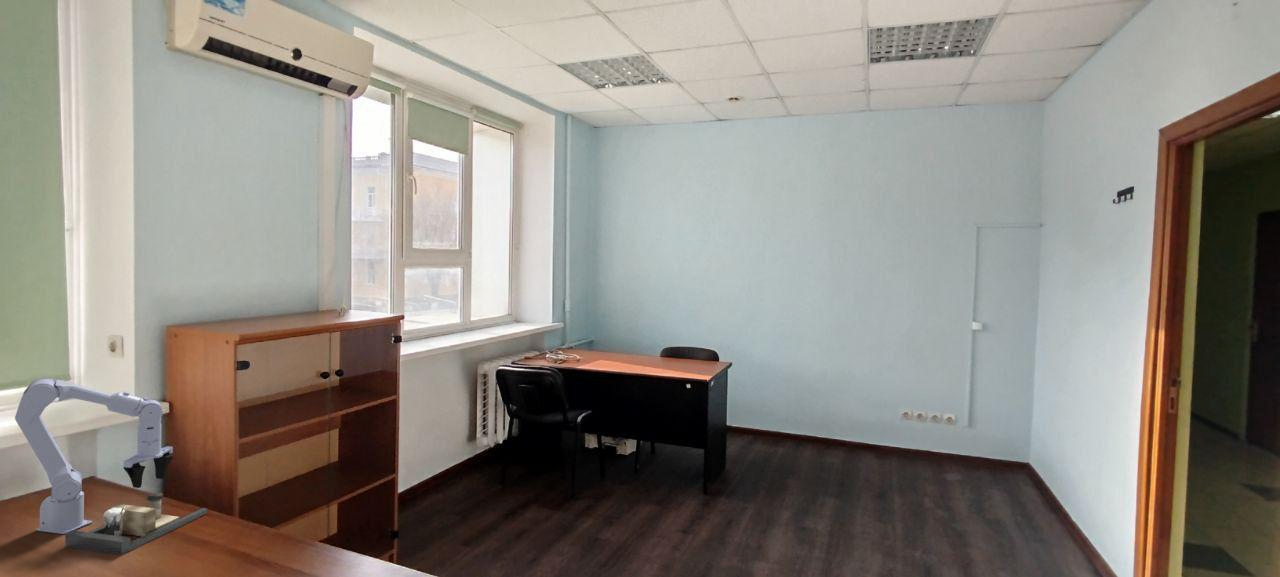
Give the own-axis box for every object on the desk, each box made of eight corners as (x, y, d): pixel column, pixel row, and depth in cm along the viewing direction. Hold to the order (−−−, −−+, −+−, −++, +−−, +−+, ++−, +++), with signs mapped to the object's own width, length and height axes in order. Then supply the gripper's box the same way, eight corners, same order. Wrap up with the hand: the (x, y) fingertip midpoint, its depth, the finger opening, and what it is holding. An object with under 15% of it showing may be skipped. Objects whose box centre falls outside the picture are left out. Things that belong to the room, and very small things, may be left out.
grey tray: (65, 547, 167) (65, 534, 166) (157, 506, 194) (157, 495, 194) (121, 554, 164) (121, 541, 164) (207, 513, 192) (207, 502, 191)
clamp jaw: (108, 531, 176) (109, 504, 175) (144, 516, 187) (145, 489, 186) (145, 536, 174) (146, 508, 174) (179, 520, 185) (180, 494, 185)
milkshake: (114, 546, 169) (114, 510, 168) (98, 543, 170) (99, 508, 169) (131, 538, 173) (131, 504, 173) (115, 536, 174) (116, 501, 174)
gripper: (138, 447, 181) (137, 492, 182) (181, 434, 195) (180, 475, 196) (117, 445, 182) (117, 490, 183) (162, 432, 196) (161, 473, 197)
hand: (148, 482), depth 189 cm, fingers open, 7 cm apart
